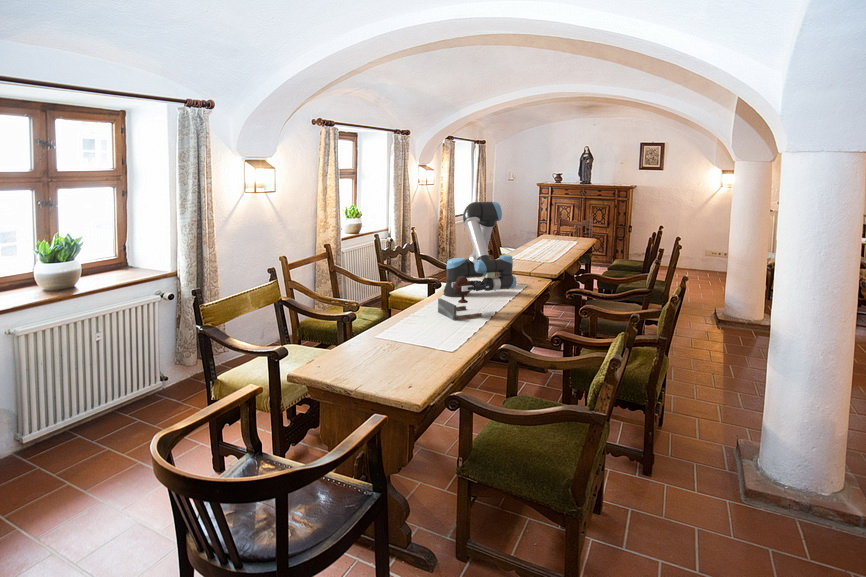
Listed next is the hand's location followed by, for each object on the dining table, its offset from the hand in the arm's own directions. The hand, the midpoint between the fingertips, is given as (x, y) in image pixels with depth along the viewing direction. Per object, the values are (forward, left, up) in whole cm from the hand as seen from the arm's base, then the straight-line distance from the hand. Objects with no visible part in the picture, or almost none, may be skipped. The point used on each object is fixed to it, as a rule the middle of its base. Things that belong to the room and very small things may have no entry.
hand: (456, 286), depth 329 cm
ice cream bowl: (+2, +3, -9) cm, 10 cm away
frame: (+1, +3, -16) cm, 16 cm away
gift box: (-14, +82, -16) cm, 85 cm away
